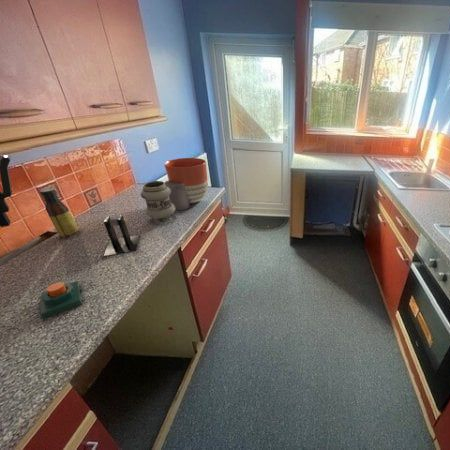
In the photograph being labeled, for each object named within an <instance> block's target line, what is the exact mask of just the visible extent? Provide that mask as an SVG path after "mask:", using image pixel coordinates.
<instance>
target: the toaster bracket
mask: <svg viewBox="0 0 450 450" xmlns="http://www.w3.org/2000/svg"><path fill="white" fill-rule="evenodd" d="M124 218H125V217H124V215H123V214H119V215H118V217H117V219H118V220H117V221H118V224H119V226H118V227H119V229H120V232H121V235H122V237H118V236H117V233H116V229H115V226H111V225H110V220H112V219H111V216H106V217H105V218H104V221H103V224H104V227H105V229H106V232H107V236H108V237H109V242H108V244H107V246H106V249H105V252H104V253H103V257H110V256H115V255H116V256H117V255H121V254H128V253H133V252H134V253H135V252H137V251H138V245H139V241H140V238H141V237H140V236H141V235H140V234H138V235H137V234H136V235H130V233H129V229H128V227H127V226H128V225H127V226H126V223H125V220H124Z"/></svg>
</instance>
